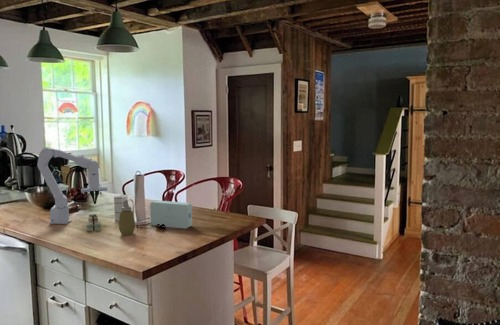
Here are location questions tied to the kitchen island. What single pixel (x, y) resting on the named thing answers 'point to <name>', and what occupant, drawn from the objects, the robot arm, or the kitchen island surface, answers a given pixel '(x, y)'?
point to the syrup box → (119, 205)
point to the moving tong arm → (90, 224)
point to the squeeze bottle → (126, 220)
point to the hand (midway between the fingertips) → (94, 203)
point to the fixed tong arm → (96, 222)
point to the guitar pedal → (171, 214)
